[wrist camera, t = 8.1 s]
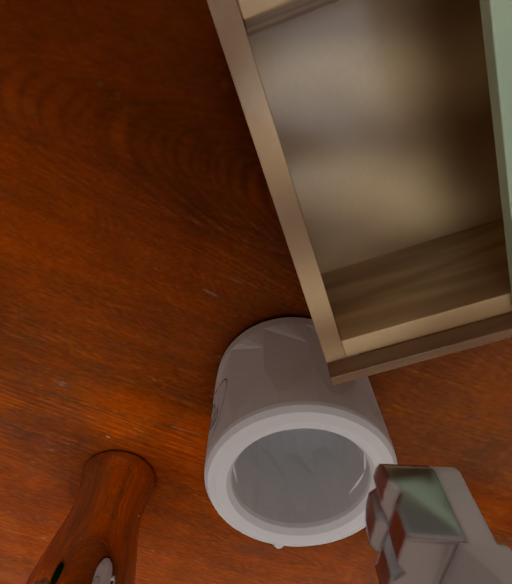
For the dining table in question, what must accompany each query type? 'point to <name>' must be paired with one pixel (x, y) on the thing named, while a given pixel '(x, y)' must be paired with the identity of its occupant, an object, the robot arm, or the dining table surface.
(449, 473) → the robot arm
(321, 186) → the box
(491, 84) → the slide lid
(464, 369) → the dining table surface
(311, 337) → the mug
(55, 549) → the beer glass
